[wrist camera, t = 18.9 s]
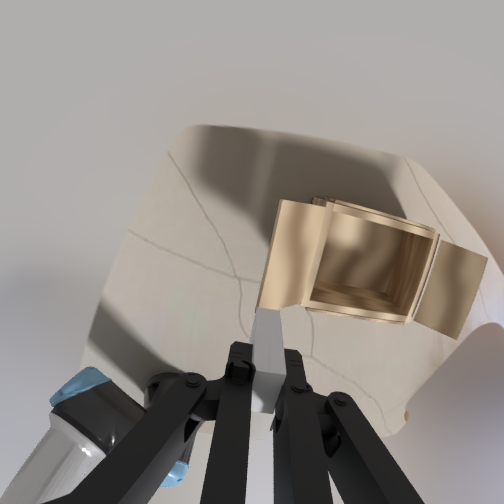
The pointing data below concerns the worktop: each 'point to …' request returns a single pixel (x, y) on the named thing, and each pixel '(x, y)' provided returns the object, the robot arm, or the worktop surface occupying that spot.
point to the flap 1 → (290, 254)
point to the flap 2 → (451, 289)
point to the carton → (368, 264)
